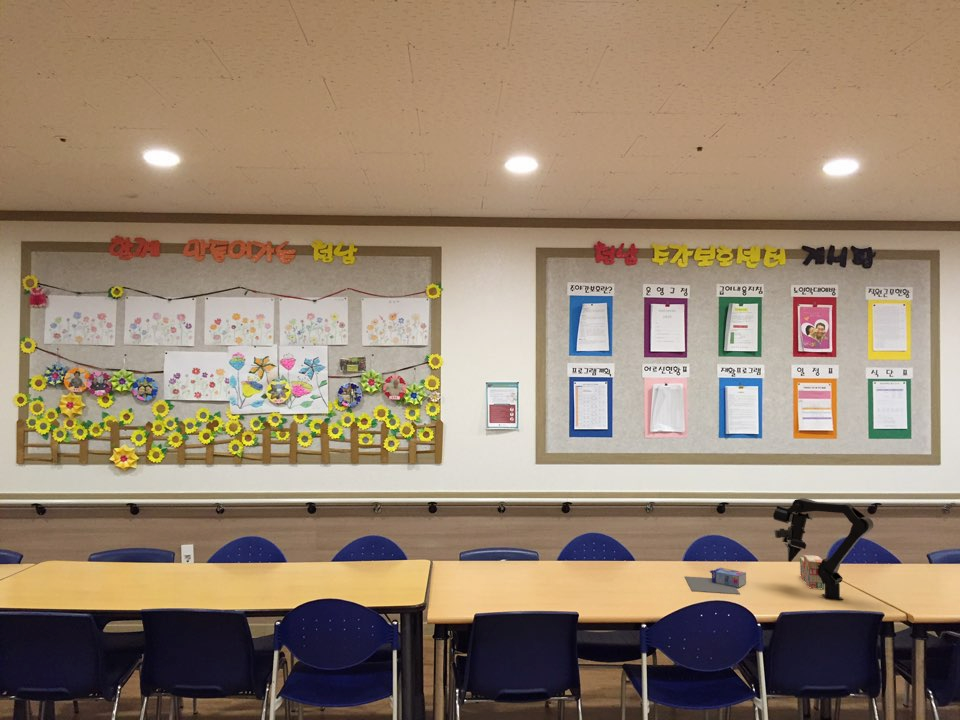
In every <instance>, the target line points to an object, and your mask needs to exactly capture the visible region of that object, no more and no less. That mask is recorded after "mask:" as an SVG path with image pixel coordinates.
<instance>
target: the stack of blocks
mask: <svg viewBox="0 0 960 720" xmlns="http://www.w3.org/2000/svg"><path fill="white" fill-rule="evenodd" d="M822 560H823V559H822V558H821V557H819V556H818V555H811V554H810V555H807V554H803V557H802V556H800V557H799V569H800V570H799V572H800V573H799V574H800V575H801V576H802V578H803V579H804V581H805V582H806V583H807V584H806V583H805V582H804V581H803V582H804V583H805V584H806V586H807V585H808V586H809V587H811V588H810V589H813V588H822V589H821V590H825V584H823V583H822V580H821V578H820V577H819V575H818V572H817V570H818V568H819V567H817V566H819V565H820V564H821V562H822ZM801 576H800V577H801ZM802 578H801V579H802ZM803 579H802V580H803ZM808 586H807V587H808ZM809 587H808V588H809Z"/></svg>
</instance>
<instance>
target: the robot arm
mask: <svg viewBox="0 0 960 720" xmlns="http://www.w3.org/2000/svg"><path fill="white" fill-rule="evenodd" d="M795 512H796V513H795ZM808 512H809V513H808ZM810 512H825V513H838V514H839V513H840V514H843V515H844V516H845V517H846V518H847V520H848V521H849V522H850V523H851V527H850V531H849V533H848V535H847V536H846V537H845V538H844V540H843V541H842V542H841V544H840V545H839V547H837V549H836V550H835V551H834V553H833V555H831V556H830V558H829V557H826V558H824V559H822V562H821V564H820V565H819V566H817V567H819V568H818V570H817V572H818V575H819V577H820V578H821V580H822V583H823V584H824V593H821V596H823V598H825V599H826V600H834V601H835V600H836V601H844V598H842V597H841V590H840V589H841V585H840V583H842V581H843V577H842V575H841V574H840V573H839V572H838V571H839V569H840V566H841V563H842V562H843V560H844V559H846V558H847V556H848V554H849V553H850V552H851V551H852V549H853V548H854V546H856V544H857V543H858V542H859V540H860V539H861V538H863V537H864V536H865V535H867V534H868V533H869V532H870V531H872V529H873V528H874V525H875V524H874V522H873V520H872V519H871V517H868V516H866V515H865V514H864V513H862V512H860V510H858V509H857V508H855V507H854V506H853V505H852V504H851V503H848V502H847V503H838V502H837V503H835V502H825V501H815V500H813V499H808V498H806V497H805V498H803V497H802V498H797V499H794V500H793V501H792V505H791V506H790V507H785V506H782V505H776V508H775V510H774V512H773V514H772V517H773V518H772V519H773V520H775V521H777V522H781V523H785V524H789V523H790V526H788V527H787V529H785V528H784V527H783V528H779V529H774V537H775V538H776V539H781V538H782V540H781V542H783V543H784V545H785V546H786V548H787V561H788V562H790V563H791V562H792V561H793V560H794V559H795V557H796V556H798V554H799V552H801V551H802V549H804V550H806V548H807V543H806V542H804V540H803V537H804V535H805V533H806V531H805V529H806V523H807V520H811V521H812V520H813V518H812V516H811V514H810Z"/></svg>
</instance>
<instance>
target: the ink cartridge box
mask: <svg viewBox="0 0 960 720" xmlns="http://www.w3.org/2000/svg"><path fill="white" fill-rule="evenodd" d="M709 573H711V578H712V582H713V583H718V584H723V585H728V586H733V587H736V588H737V589H738V588H741V587H742V586H744V585H746V584H747V572H746V571H740V570H735V569H729V568H724V567H718V568H716V569H714V570H713V569H711V570H709Z"/></svg>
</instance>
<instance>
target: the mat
mask: <svg viewBox="0 0 960 720" xmlns="http://www.w3.org/2000/svg"><path fill="white" fill-rule="evenodd" d="M684 578H685V580H686V582H687V585H688V586H689V589H690V590H691V592H698V593H700V592H701V593H713V594H715V593H716V594H728V595H741V593H740V592H739V590H738V588H737V587H733V586H728V585H723V584H718V583H713V582H712V577H701V576H688V575H687V576H686V575H685V576H684Z"/></svg>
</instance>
